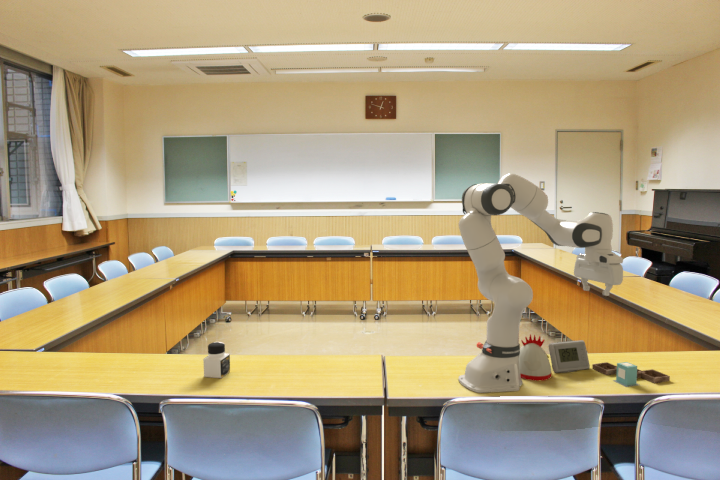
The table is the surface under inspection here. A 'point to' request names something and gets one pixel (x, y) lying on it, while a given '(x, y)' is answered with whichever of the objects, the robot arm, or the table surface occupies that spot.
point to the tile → (625, 385)
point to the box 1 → (605, 368)
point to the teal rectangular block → (626, 373)
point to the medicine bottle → (216, 361)
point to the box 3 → (654, 376)
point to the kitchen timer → (534, 360)
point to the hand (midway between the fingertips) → (595, 292)
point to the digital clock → (568, 356)
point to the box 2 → (637, 373)
